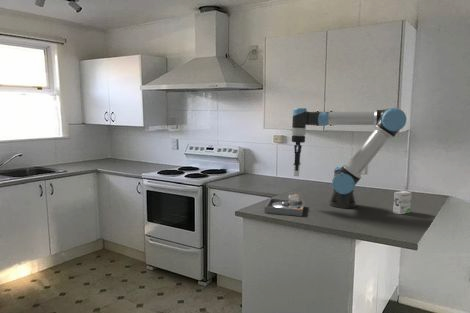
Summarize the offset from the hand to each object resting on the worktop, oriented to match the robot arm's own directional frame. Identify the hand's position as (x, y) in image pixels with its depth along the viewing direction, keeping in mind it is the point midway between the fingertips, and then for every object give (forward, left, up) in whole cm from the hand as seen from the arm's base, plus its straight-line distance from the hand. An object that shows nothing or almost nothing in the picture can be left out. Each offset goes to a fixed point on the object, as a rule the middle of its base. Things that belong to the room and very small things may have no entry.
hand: (296, 175), depth 215 cm
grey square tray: (+5, +10, -18) cm, 21 cm away
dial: (+5, +9, -16) cm, 19 cm away
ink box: (-59, -5, -18) cm, 62 cm away
